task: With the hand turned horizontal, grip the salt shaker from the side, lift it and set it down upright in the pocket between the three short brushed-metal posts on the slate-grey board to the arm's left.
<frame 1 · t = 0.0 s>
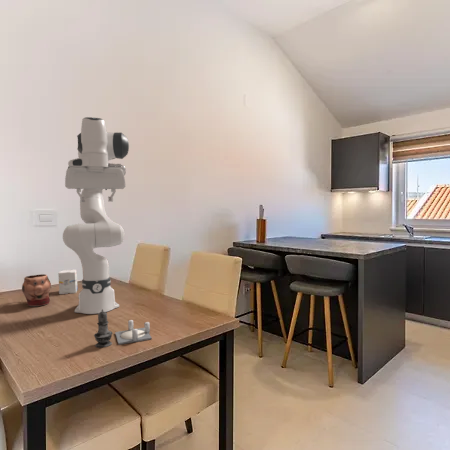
hand: (96, 201, 122), 48 cm above the table, tool pointing down, fingers open, 8 cm apart
decorative planter: (37, 304, 164), on the table
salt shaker: (103, 345, 113), on the table
pin socket board: (133, 336, 120), on the table
ink box: (68, 292, 186), on the table
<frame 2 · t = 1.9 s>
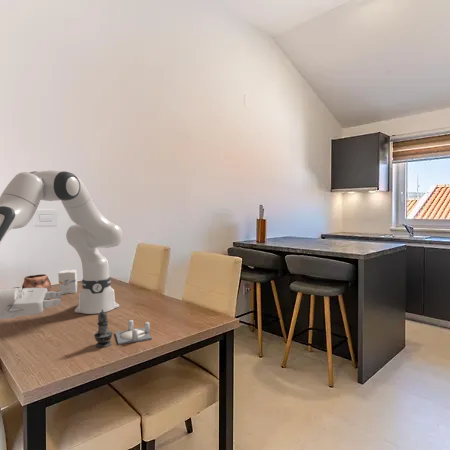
hand: (61, 297, 108), 17 cm above the table, tool horizontal, fingers open, 8 cm apart
nothing on the table moved.
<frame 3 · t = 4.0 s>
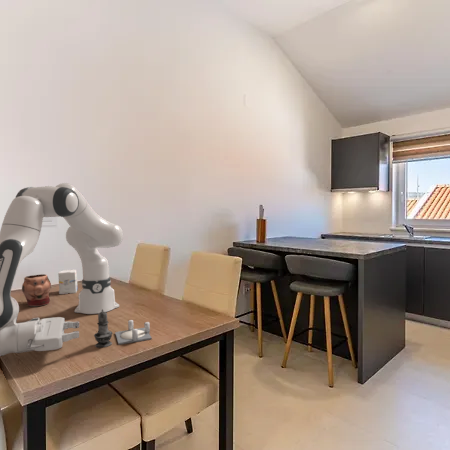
hand: (79, 329, 110), 6 cm above the table, tool horizontal, fingers open, 8 cm apart
nothing on the table moved.
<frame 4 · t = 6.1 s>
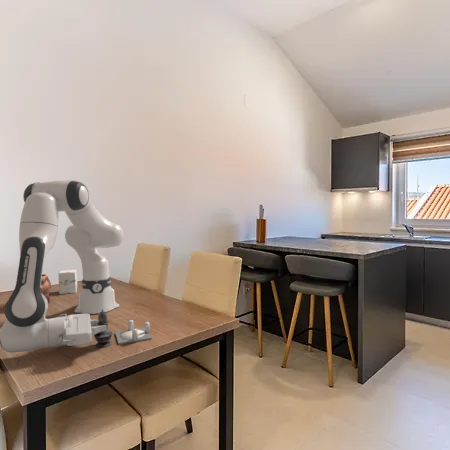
hand: (105, 324, 113), 7 cm above the table, tool horizontal, fingers closed on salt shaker, 4 cm apart
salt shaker: (103, 345, 113), on the table, touching gripper
everything else where it was.
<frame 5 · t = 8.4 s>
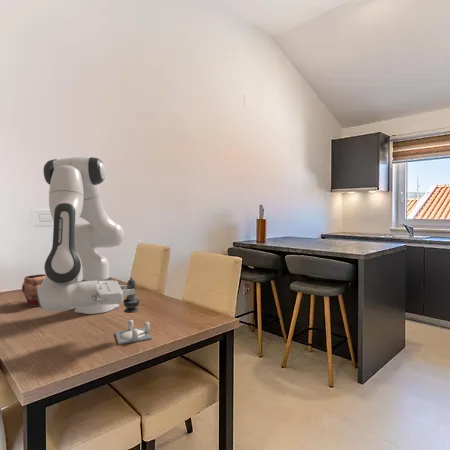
hand: (133, 289, 119), 17 cm above the table, tool horizontal, fingers closed on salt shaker, 4 cm apart
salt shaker: (131, 311, 119), point 9 cm above the table, touching gripper
everything else where it was.
when the fingers open (9 cm above the table, at t = 10.6 s): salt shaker stays where it is, resting on pin socket board.
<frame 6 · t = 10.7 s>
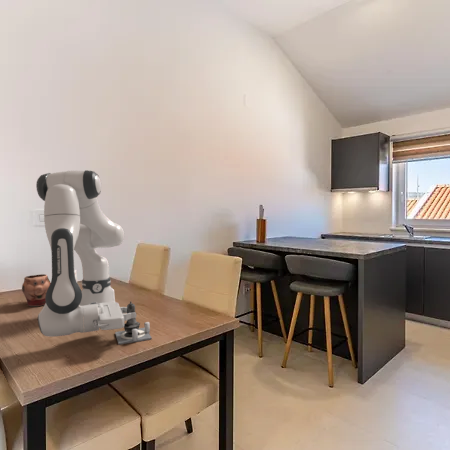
hand: (134, 312, 120), 9 cm above the table, tool horizontal, fingers open, 5 cm apart
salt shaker: (131, 335, 120), point 1 cm above the table, touching pin socket board
everything else where it was.
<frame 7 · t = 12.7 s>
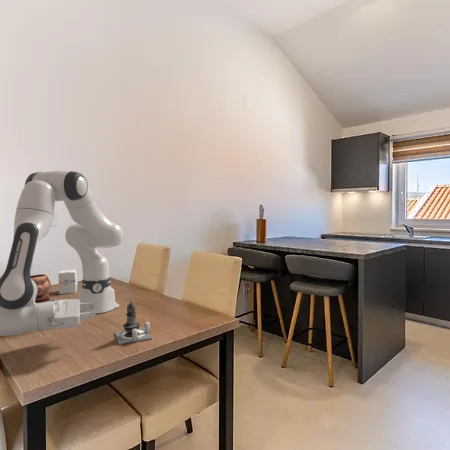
hand: (94, 309, 115), 11 cm above the table, tool horizontal, fingers open, 8 cm apart
nothing on the table moved.
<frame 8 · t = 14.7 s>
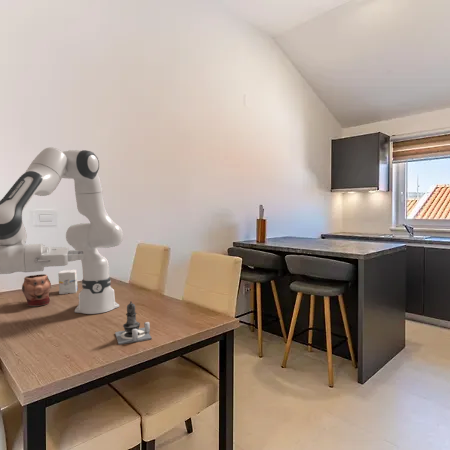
hand: (83, 254, 114), 30 cm above the table, tool horizontal, fingers open, 8 cm apart
nothing on the table moved.
at the end: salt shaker 0.4 cm off-centre on the pin socket board, point 0.6 cm above the pin socket board's base; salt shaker tilted 0°; the gripper is holding nothing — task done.
